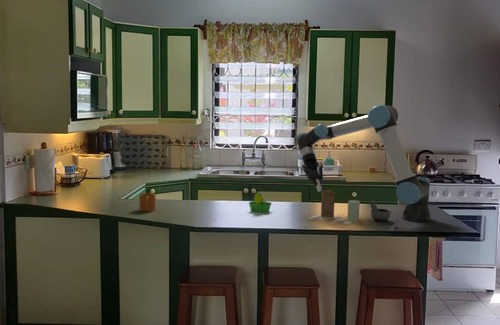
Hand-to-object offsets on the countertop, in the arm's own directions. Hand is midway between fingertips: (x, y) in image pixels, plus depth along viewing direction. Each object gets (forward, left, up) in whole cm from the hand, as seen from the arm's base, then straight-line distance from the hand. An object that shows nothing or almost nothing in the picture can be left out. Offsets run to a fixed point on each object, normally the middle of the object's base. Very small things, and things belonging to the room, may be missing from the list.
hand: (319, 190), depth 290 cm
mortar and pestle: (-33, -3, -15) cm, 36 cm away
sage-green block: (-22, +5, -13) cm, 25 cm away
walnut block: (-8, +6, -13) cm, 16 cm away
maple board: (-13, +9, -14) cm, 21 cm away
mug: (+83, +46, -15) cm, 96 cm away
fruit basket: (+32, +9, -15) cm, 37 cm away
